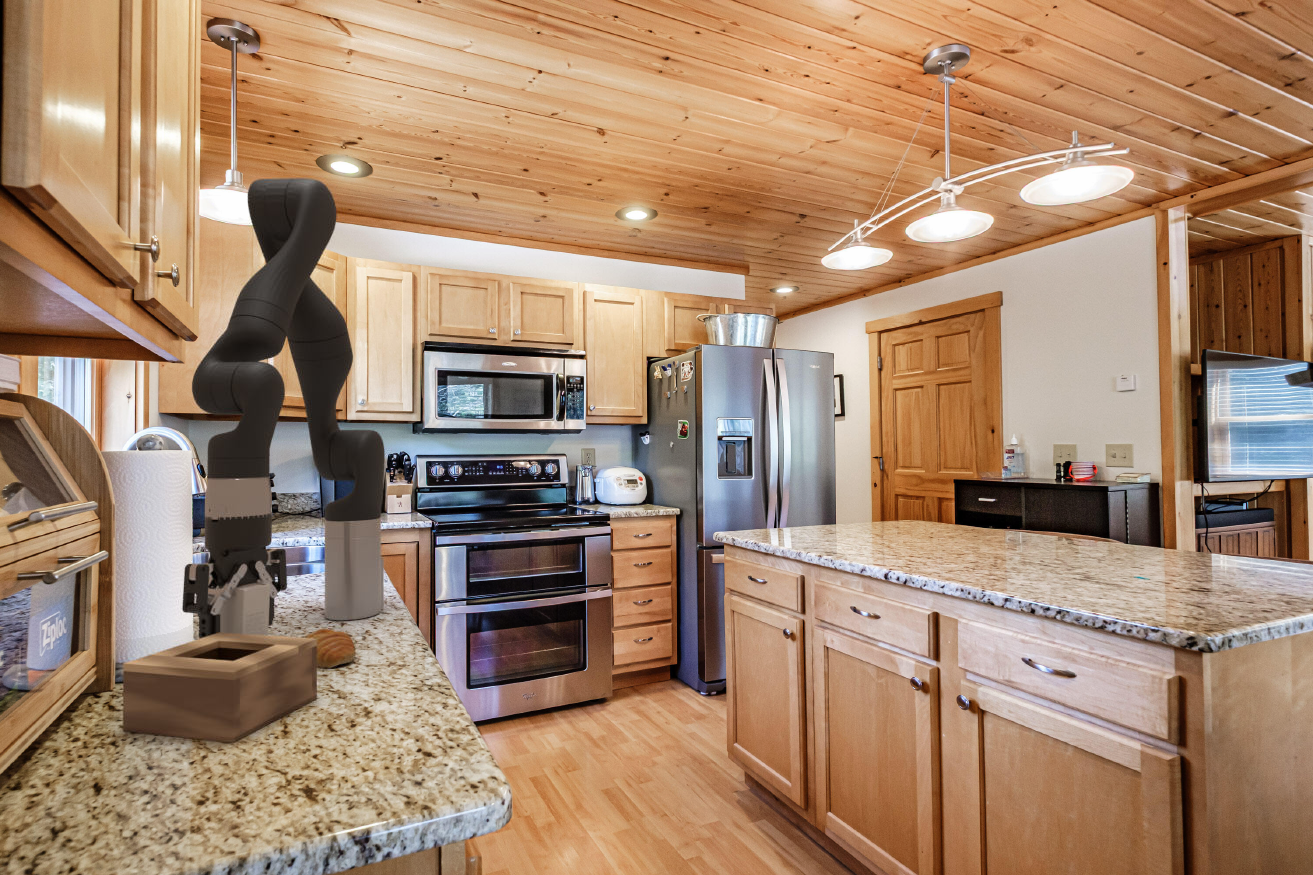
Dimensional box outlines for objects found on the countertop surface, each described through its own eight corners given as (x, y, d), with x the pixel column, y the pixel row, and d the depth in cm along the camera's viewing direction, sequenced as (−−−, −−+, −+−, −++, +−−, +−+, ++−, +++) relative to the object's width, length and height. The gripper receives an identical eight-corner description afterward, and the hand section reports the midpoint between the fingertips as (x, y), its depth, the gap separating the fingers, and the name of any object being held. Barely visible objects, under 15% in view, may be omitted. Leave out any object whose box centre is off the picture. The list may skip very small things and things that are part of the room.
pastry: (368, 662, 94) (367, 635, 94) (317, 675, 89) (317, 646, 89) (341, 648, 100) (341, 623, 100) (292, 660, 95) (292, 633, 95)
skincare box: (205, 679, 87) (205, 586, 87) (236, 667, 91) (236, 579, 91) (241, 683, 85) (241, 588, 85) (271, 672, 89) (271, 582, 89)
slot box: (219, 690, 83) (219, 632, 83) (316, 698, 80) (316, 638, 80) (123, 730, 71) (123, 663, 71) (233, 742, 68) (233, 672, 68)
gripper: (257, 506, 96) (257, 619, 96) (165, 517, 82) (164, 648, 82) (302, 507, 94) (302, 622, 94) (216, 518, 80) (215, 652, 80)
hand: (238, 634), depth 88 cm, fingers open, 8 cm apart
